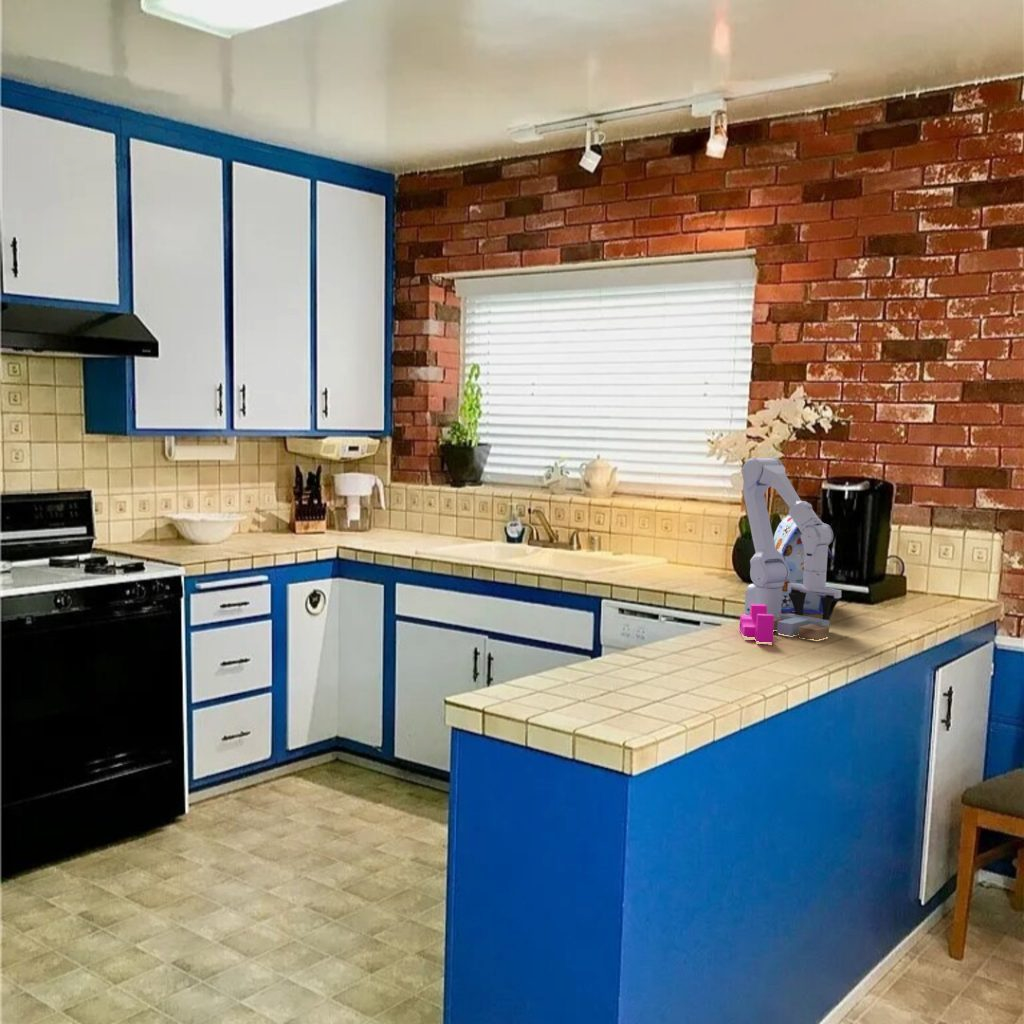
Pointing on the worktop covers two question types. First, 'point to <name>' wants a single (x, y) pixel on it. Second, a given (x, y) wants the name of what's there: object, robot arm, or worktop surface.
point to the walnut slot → (808, 630)
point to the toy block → (758, 623)
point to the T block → (797, 623)
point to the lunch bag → (795, 565)
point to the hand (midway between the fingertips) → (812, 621)
